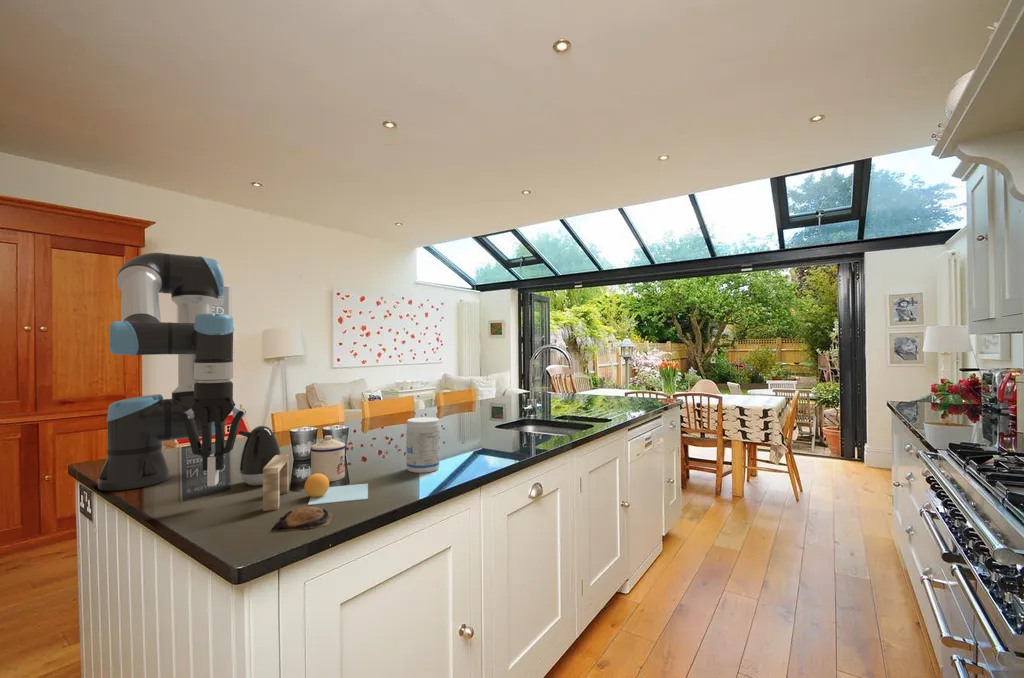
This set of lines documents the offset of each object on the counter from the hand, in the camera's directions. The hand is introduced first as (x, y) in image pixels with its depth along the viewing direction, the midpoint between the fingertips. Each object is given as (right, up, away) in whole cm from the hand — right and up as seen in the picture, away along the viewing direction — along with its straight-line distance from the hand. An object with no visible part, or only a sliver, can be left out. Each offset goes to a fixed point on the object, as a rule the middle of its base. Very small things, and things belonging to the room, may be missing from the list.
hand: (213, 484), depth 106 cm
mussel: (+26, -5, -11) cm, 29 cm away
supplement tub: (+42, -5, +30) cm, 52 cm away
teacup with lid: (+17, -6, +23) cm, 29 cm away
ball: (+22, -2, +5) cm, 22 cm away
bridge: (+13, -5, +3) cm, 14 cm away
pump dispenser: (+1, -6, +18) cm, 19 cm away
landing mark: (+26, -5, +7) cm, 28 cm away
